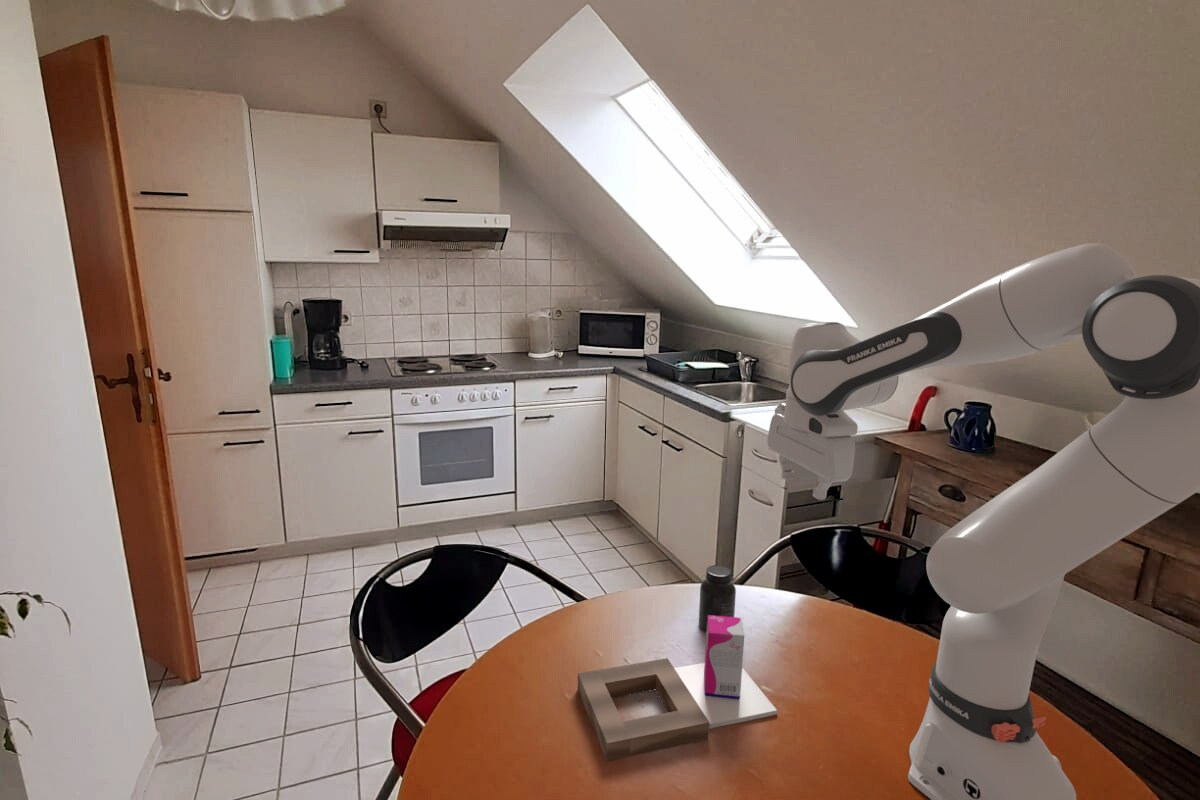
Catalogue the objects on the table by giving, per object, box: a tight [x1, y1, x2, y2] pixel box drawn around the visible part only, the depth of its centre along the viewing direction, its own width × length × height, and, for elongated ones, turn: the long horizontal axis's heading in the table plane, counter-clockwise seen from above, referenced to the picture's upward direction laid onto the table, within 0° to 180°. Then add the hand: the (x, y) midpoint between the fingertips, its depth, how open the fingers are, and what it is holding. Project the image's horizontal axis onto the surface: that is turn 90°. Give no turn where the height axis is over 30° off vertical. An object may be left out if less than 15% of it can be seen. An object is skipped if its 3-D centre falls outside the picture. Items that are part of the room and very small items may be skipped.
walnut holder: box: [577, 657, 710, 762], centre depth 100 cm, size 16×16×3 cm
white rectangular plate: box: [674, 662, 778, 730], centre depth 105 cm, size 14×12×1 cm
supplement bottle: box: [698, 564, 737, 633], centre depth 123 cm, size 7×7×12 cm
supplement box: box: [704, 615, 745, 699], centre depth 105 cm, size 6×6×12 cm
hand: (802, 488), depth 114 cm, fingers open, 8 cm apart
